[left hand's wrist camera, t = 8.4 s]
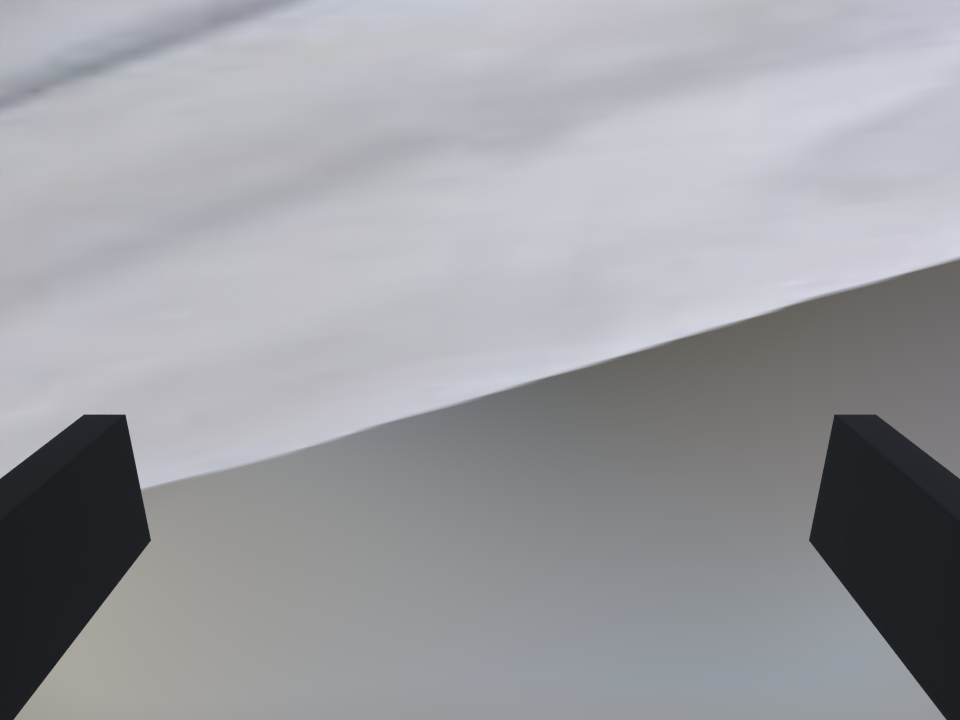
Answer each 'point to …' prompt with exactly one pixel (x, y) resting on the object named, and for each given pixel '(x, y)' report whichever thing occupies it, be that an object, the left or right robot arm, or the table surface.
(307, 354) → the table surface
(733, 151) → the table surface
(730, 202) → the table surface
